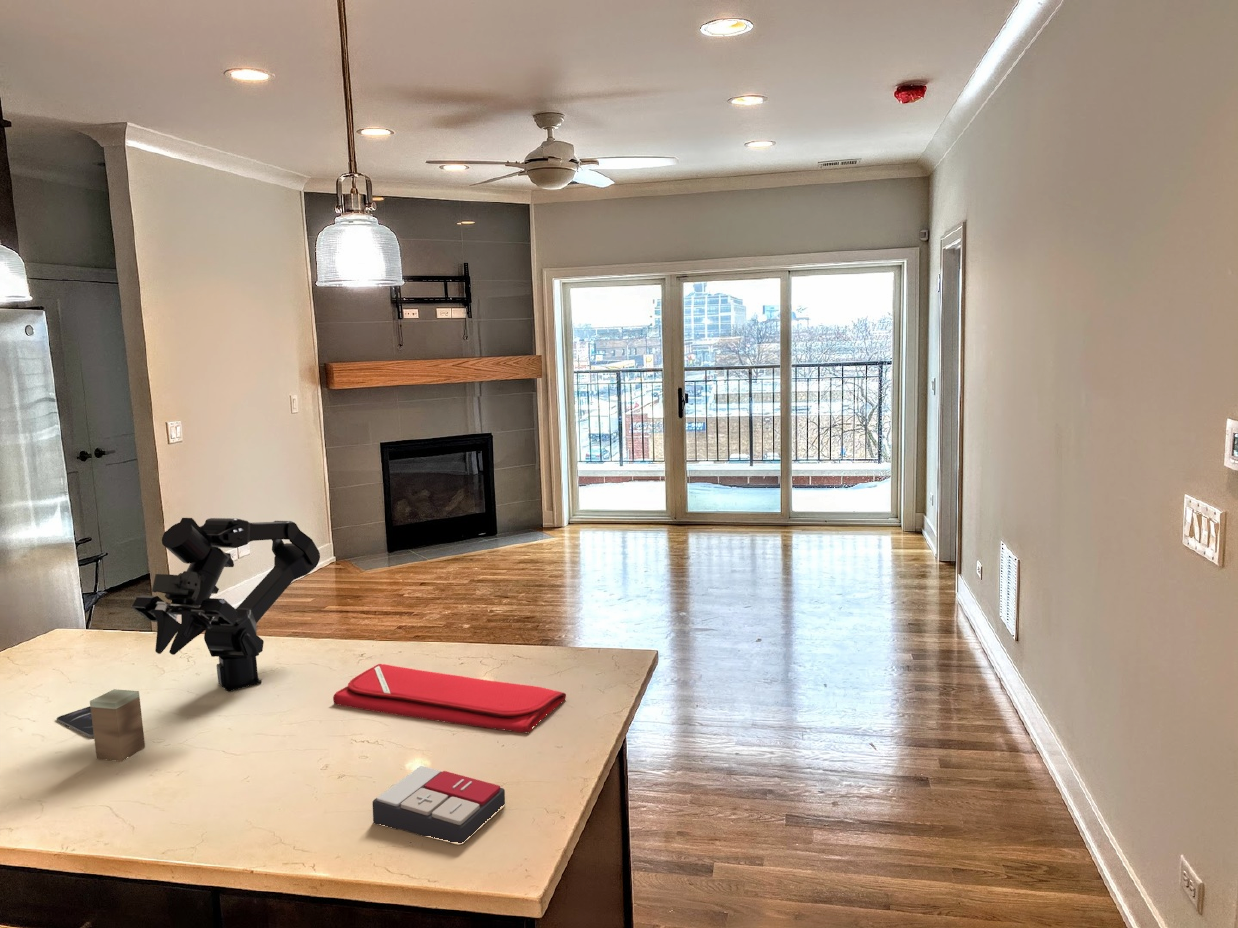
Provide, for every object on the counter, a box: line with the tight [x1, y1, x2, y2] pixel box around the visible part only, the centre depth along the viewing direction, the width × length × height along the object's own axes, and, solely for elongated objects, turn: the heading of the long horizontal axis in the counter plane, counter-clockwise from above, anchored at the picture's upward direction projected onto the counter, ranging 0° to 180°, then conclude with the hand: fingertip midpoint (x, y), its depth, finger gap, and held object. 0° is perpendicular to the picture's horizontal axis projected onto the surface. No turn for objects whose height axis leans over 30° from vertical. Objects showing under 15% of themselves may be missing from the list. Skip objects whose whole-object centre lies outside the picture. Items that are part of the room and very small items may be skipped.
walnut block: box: [89, 688, 146, 762], centre depth 144 cm, size 5×5×10 cm
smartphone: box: [56, 705, 94, 739], centre depth 158 cm, size 8×1×15 cm
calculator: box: [372, 765, 506, 843], centre depth 122 cm, size 11×4×15 cm
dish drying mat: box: [332, 663, 567, 733], centre depth 161 cm, size 16×41×4 cm, turn 68°
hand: (164, 653), depth 154 cm, fingers open, 3 cm apart
